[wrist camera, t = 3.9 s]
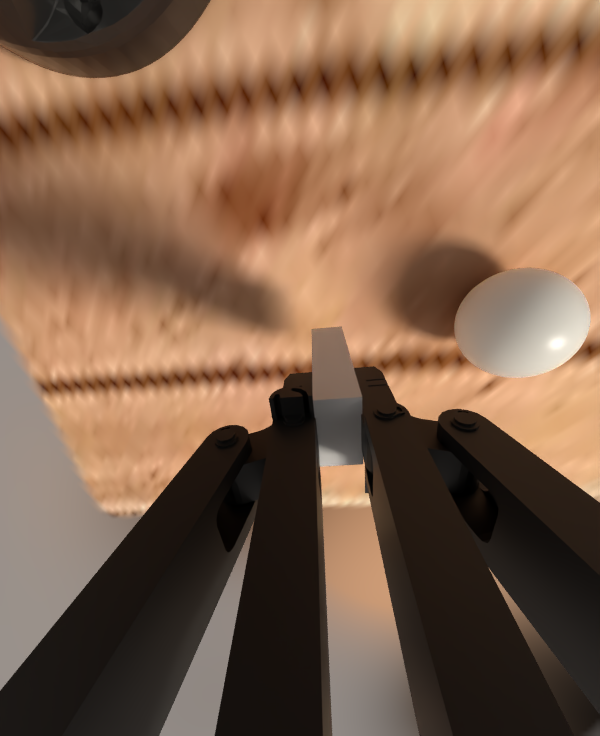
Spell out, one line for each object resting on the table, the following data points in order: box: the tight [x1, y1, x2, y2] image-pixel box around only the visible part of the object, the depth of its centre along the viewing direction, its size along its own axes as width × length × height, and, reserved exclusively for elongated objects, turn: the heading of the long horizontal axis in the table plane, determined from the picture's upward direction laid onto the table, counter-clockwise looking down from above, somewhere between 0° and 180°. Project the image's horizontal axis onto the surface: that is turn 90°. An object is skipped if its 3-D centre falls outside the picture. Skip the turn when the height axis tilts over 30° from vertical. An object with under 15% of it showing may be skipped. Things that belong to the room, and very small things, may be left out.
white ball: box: [454, 268, 590, 378], centre depth 15 cm, size 6×6×6 cm
